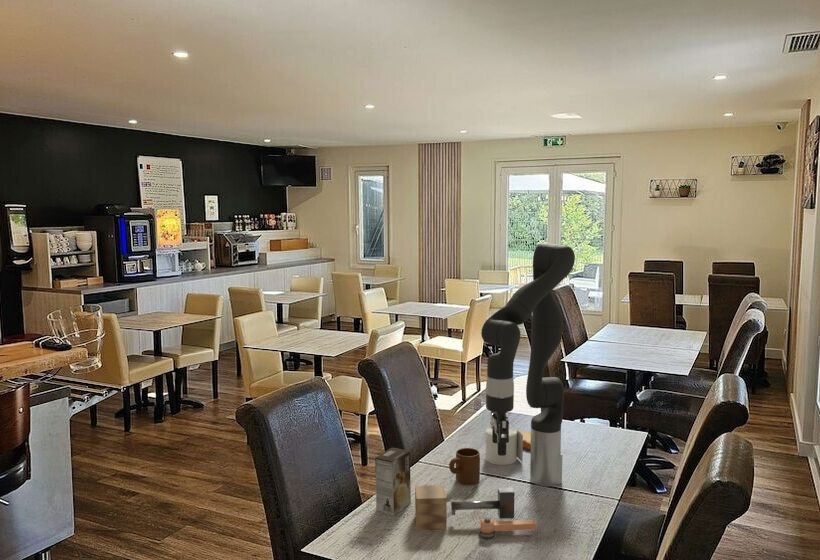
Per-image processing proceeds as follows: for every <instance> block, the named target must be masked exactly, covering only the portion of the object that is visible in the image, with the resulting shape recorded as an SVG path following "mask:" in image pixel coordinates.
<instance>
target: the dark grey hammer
mask: <svg viewBox="0 0 820 560" xmlns="http://www.w3.org/2000/svg"><path fill="white" fill-rule="evenodd" d="M450 507H451V508H450V509H451V516H456V511H468V510H469V511H470V510H471V511H473V510H476V511H477V510H497V516H498V519H501V520H502V519H503V520H504V519H505V520H506V519H515V490H514V488H513V487H509V486H508V487H506V486H504V487H498V488H497V500H467V501H465V500H463V501H462V500H461V501H451V502H450Z"/></svg>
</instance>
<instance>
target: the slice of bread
mask: <svg viewBox="0 0 820 560" xmlns="http://www.w3.org/2000/svg"><path fill="white" fill-rule="evenodd" d="M516 430H517V431H519V432H520V433H521V434H522V435H523V450H528V451H529V452H531V431H526V430H520V429H516Z"/></svg>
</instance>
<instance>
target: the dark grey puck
mask: <svg viewBox="0 0 820 560" xmlns="http://www.w3.org/2000/svg"><path fill="white" fill-rule="evenodd" d="M496 533H497V531H494V532H493V533H490V534H486V533H483V532H481V530H480V528H479V529H478V536H479V537H480V538H482V539H484V540H491V539H495V538H496Z"/></svg>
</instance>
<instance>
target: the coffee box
mask: <svg viewBox="0 0 820 560" xmlns="http://www.w3.org/2000/svg"><path fill="white" fill-rule="evenodd" d="M374 458H375V459H374V460H375V462H374V463H375V467H374V468H375V500H376V501H375V502H376V503H375V504H376V505H375V507H376V508H375V509H376V511H378V512H381V513H383V514H386V515H387V514H388V515H391V516H395V515H397V514H398V513H400V512H401V511H402V510H403V509H405V508H406V507H407V506H408V505H409V506H410V504H412V496H411V495H412V493H411V492H412V491H411V490H412V489H411V486H412V485H411V451H410V450H407V449H401V448H397V447H390V448H389V449H387V450H385V451H384V452H382V453H380V454H379V455H377V456H375V457H374Z"/></svg>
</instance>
